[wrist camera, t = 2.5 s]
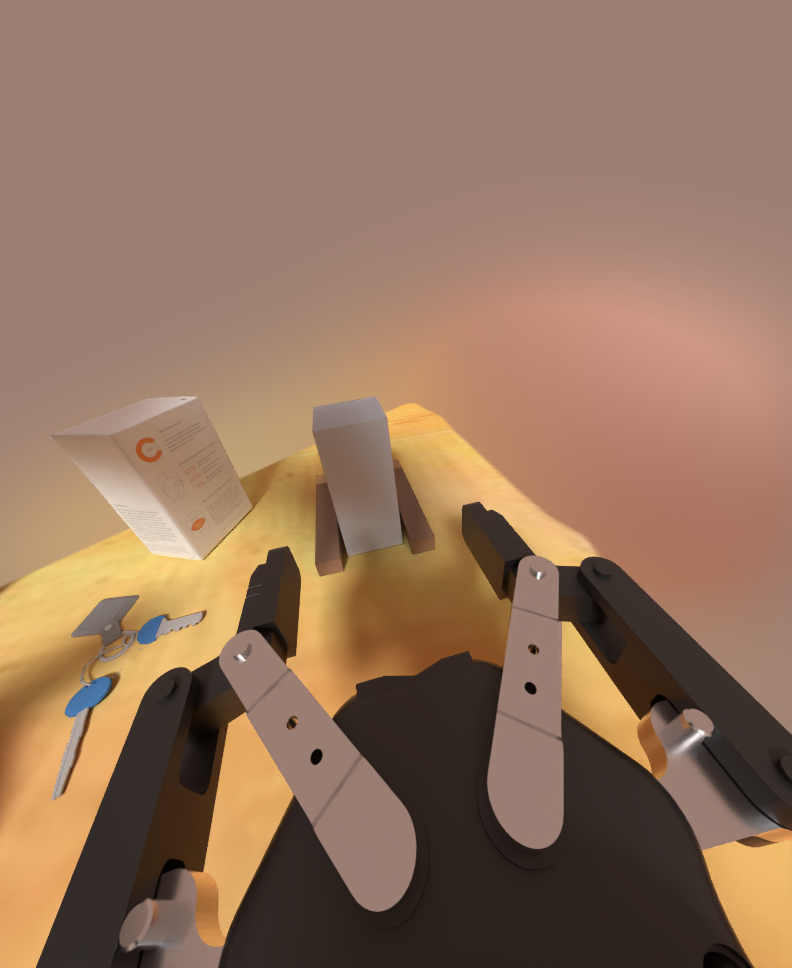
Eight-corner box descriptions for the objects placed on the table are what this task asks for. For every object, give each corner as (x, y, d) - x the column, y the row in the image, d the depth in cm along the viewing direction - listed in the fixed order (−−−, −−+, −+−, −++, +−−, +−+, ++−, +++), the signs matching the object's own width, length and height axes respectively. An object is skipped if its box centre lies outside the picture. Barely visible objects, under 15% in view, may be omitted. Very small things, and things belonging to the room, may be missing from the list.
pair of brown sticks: (319, 576, 24) (315, 564, 23) (319, 485, 36) (316, 475, 35) (434, 548, 25) (434, 536, 25) (399, 469, 37) (397, 459, 36)
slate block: (348, 556, 26) (312, 431, 19) (344, 520, 30) (313, 407, 23) (403, 543, 26) (387, 417, 20) (391, 510, 30) (375, 396, 24)
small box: (210, 504, 35) (146, 396, 28) (255, 507, 33) (200, 394, 26) (149, 556, 29) (46, 434, 21) (202, 563, 27) (109, 434, 20)
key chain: (77, 617, 24) (70, 611, 23) (188, 561, 28) (184, 555, 28) (55, 806, 15) (43, 802, 14) (227, 681, 19) (221, 675, 18)
